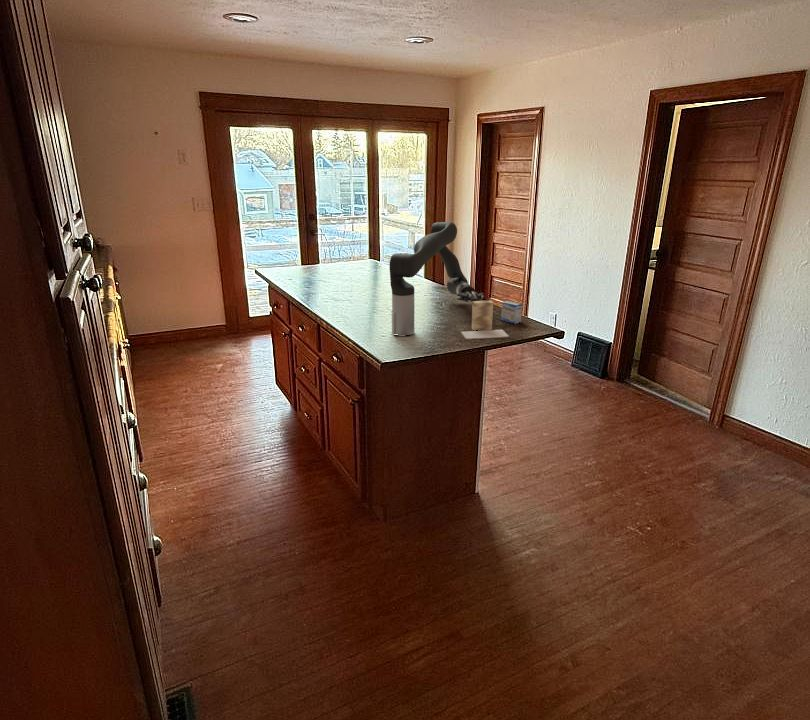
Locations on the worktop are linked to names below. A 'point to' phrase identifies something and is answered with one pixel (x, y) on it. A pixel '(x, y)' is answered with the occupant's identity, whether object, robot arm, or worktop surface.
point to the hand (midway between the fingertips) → (475, 301)
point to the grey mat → (484, 334)
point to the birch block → (482, 315)
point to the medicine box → (511, 312)
